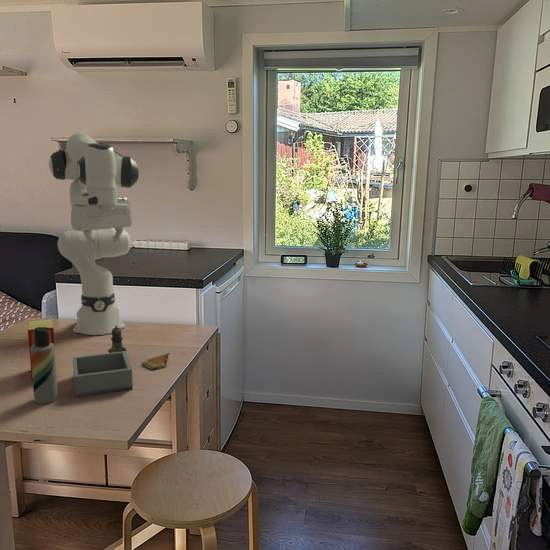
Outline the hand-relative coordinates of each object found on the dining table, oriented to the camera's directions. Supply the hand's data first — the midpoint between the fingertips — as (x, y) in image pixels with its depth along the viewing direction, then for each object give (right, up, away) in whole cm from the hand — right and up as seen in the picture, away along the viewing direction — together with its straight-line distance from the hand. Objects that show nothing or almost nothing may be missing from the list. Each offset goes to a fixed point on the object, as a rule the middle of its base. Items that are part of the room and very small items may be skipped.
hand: (104, 243), depth 151 cm
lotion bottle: (-8, -43, -21) cm, 49 cm away
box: (+3, -41, -10) cm, 42 cm away
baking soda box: (-16, -40, -5) cm, 43 cm away
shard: (+14, -39, +6) cm, 42 cm away
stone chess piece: (+2, -38, +7) cm, 39 cm away
